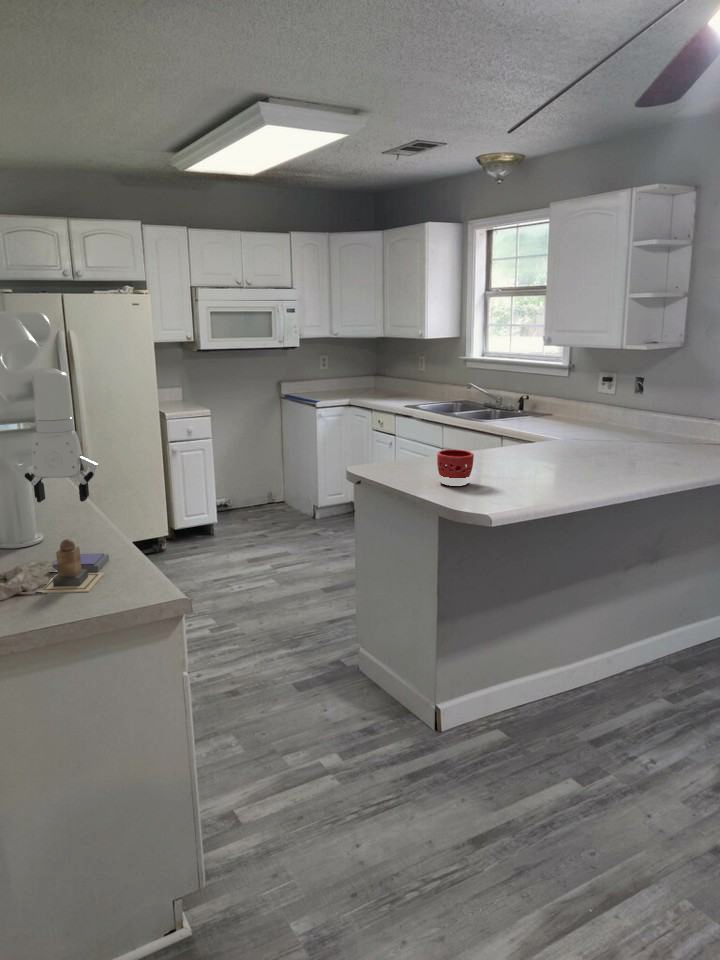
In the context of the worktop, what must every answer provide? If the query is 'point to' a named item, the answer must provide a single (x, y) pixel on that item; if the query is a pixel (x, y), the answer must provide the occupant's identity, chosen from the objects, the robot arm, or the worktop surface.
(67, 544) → the stamp
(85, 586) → the card
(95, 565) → the ink pad
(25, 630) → the worktop surface
